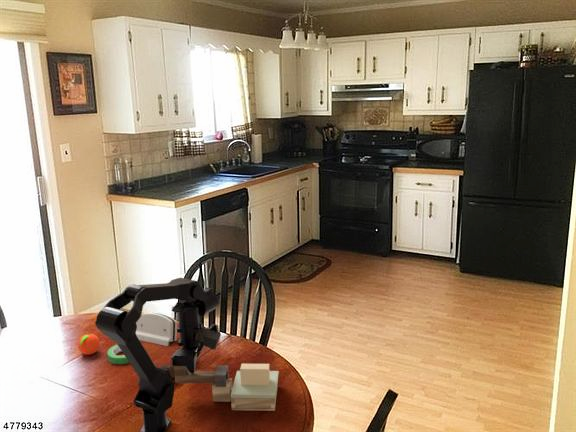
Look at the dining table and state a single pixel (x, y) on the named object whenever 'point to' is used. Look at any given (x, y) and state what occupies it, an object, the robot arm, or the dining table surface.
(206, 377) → the key
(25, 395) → the dining table surface
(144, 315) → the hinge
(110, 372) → the dining table surface
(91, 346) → the clementine
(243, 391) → the lid
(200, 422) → the dining table surface
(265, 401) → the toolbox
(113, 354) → the tape roll
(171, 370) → the bolt
